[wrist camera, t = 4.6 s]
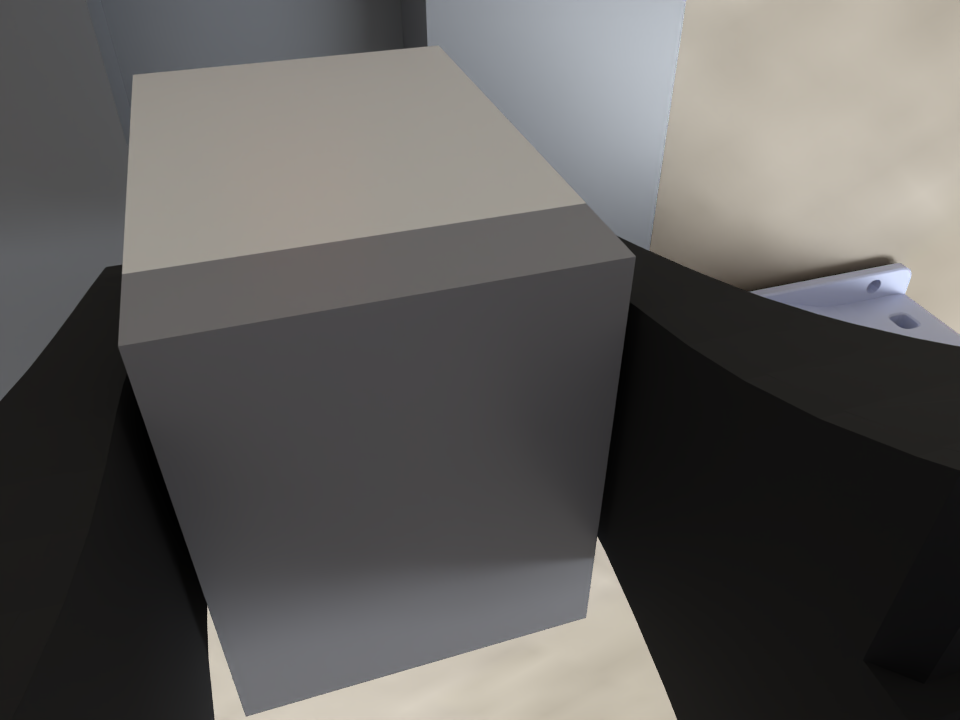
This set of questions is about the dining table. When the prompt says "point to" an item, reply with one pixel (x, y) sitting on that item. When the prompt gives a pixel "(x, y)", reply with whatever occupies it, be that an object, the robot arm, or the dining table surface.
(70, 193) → the socket plate
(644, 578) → the robot arm
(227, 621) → the grey rectangular block
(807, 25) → the dining table surface
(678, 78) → the dining table surface
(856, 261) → the dining table surface
